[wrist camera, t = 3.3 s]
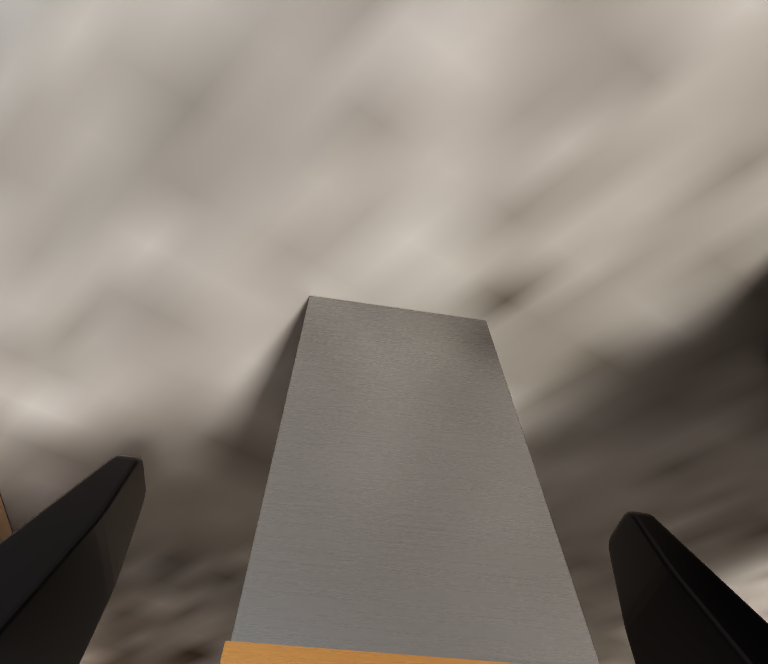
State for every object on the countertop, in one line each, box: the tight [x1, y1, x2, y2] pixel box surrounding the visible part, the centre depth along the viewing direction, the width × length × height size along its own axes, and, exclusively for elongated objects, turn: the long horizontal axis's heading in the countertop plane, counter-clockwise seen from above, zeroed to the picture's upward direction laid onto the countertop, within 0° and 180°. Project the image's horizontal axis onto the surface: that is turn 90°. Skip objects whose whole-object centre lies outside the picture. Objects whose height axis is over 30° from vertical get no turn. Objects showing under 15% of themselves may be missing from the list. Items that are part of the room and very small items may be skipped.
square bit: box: [220, 296, 600, 664], centre depth 9 cm, size 4×4×9 cm
